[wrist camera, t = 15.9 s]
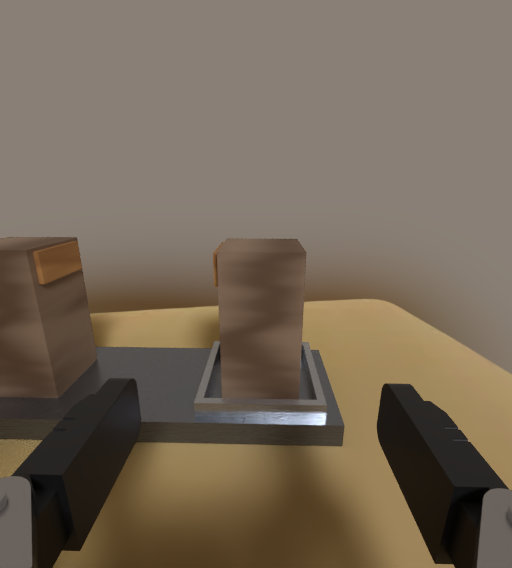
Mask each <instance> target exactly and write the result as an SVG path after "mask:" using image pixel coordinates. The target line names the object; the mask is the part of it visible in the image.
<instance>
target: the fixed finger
mask: <svg viewBox="0 0 512 568" xmlns="http://www.w3.org/2000/svg"><path fill="white" fill-rule="evenodd" d="M96 360H97V354H96V348H95V342H94V336H93V330H92V324H91V318H90V312H89V307H88V301H87V295H86V289H85V283H84V277H83V271H82V265H81V259H80V253H79V247H78V241H77V238H76V237H7V238H2V239H0V397H25V398H59V397H60V396H61V395H62V394H63V393H64V392H65V391H66V390H67V389H68V388H69V387H70V386H71V385H72V384H73V383H74V382H75V381H76V380H77V379H78V378H79V377H80V376H81V375H82V374H83V373H84V372H85V371H86V370H87V369H88V368H89V367H90V366H91V365H92V364H93V363H94V362H95V361H96Z"/></svg>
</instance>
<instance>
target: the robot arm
mask: <svg viewBox="0 0 512 568" xmlns="http://www.w3.org/2000/svg"><path fill="white" fill-rule="evenodd" d="M140 427H141V412H140V405H139V397H138V389H137V383H136V380H135V379H134V378H109V379H108V380H107V381H106V382H105V383H104V385H103V386H102V387H101V388H100V389H99V391H98V392H97V393H96V394H90V395H88V396H87V397H85V398H84V399H82V400H81V401H79V402H78V403H76V404H75V405H74V406H73V407H72V408H71V409H70V410H69V411H68V413H67V414H66V415H65V416H64V417H63V420H60V422H59V423H58V424H57V425H56V426H55V427H54V428H53V431H52V432H50V433H49V434H48V435H47V436H46V437H45V438H44V440H43V441H42V442H41V443H40V444H39V445H38V446H37V447H36V449H35V450H34V451H33V452H32V453H31V454H30V455H29V456H28V458H27V459H26V460H25V461H24V462H23V463H22V464H21V465H20V467H19V468H18V469H17V470H16V471H15V472H14V473H13V475H12V476H10V477H5V478H1V479H0V568H53V565H54V564H55V562H56V560H57V558H58V556H59V555H60V553H61V551H62V550H66V551H80V550H81V548H82V546H83V544H84V542H85V540H86V538H87V536H88V534H89V532H90V530H91V528H92V526H93V524H94V522H95V520H96V518H97V516H98V515H99V513H100V511H101V509H102V507H103V505H104V503H105V501H106V499H107V497H108V495H109V493H110V491H111V489H112V487H113V485H114V483H115V481H116V479H117V477H118V475H119V473H120V472H121V470H122V468H123V466H124V464H125V462H126V460H127V458H128V456H129V454H130V452H131V450H132V448H133V446H134V444H135V442H136V440H137V438H138V435H139V432H140ZM377 433H378V439H379V442H380V445H381V447H382V450H383V452H384V454H385V456H386V458H387V460H388V463H389V465H390V467H391V469H392V471H393V473H394V476H395V478H396V480H397V482H398V484H399V487H400V489H401V491H402V493H403V495H404V497H405V500H406V502H407V504H408V506H409V508H410V510H411V513H412V515H413V517H414V519H415V521H416V524H417V526H418V528H419V530H420V532H421V534H422V537H423V539H424V541H425V543H426V545H427V547H428V550H429V552H430V554H431V556H432V558H433V561H434V563H435V564H454V566H455V568H512V490H509V489H508V487H507V486H506V485H505V484H504V483H503V481H502V480H501V479H500V478H499V476H498V475H497V474H496V473H495V472H494V470H493V469H492V468H491V467H490V466H489V464H488V463H487V462H486V461H485V459H484V458H483V457H482V456H481V455H480V453H479V452H478V451H477V450H476V448H475V447H474V446H473V445H472V444H471V442H468V439H467V438H466V436H465V435H464V434H463V433H462V431H461V430H458V427H457V425H456V424H455V423H454V422H453V421H452V419H451V418H450V417H449V416H448V414H447V413H446V412H444V411H443V410H441V409H440V408H439V407H437V406H436V405H435V404H433V403H432V402H430V401H423V399H422V398H421V397H420V395H419V394H418V393H417V391H416V390H415V389H414V387H413V386H412V385H410V384H384V385H383V387H382V392H381V399H380V406H379V413H378V420H377Z"/></svg>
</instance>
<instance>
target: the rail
mask: <svg viewBox="0 0 512 568" xmlns="http://www.w3.org/2000/svg"><path fill="white" fill-rule="evenodd" d="M95 348H96V354H97V360H96V361H95V362H94V363H93V364H92V365H91V366H90V367H89V368H88V369H87V370H86V371H85V372H84V373H83V374H82V375H81V376H80V377H79V378H78V379H77V380H76V381H75V382H74V383H73V384H72V385H71V386H70V387H69V388H68V389H67V390H66V391H65V392H64V393H63V394H62V395H61V396H60V397H59V398H25V397H0V439H40V440H44V438H45V437H46V436H47V435H48V434H49V433H50V432H52V431H53V428H54V427H55V426H56V425H57V424H58V423H59V422H60V420H63V417H64V416H65V415H66V414H67V413H68V411H69V410H70V409H71V408H72V407H73V406H74V405H75V404H76V403H78V402H79V401H81V400H82V399H84V398H85V397H87V396H88V395H90V394H96V393H97V392H98V391H99V389H100V388H101V387H102V386H103V385H104V383H105V382H106V381H107V380H108V379H109V378H134V379H135V380H136V383H137V389H138V397H139V405H140V412H141V427H140V432H139V435H138V438H137V440H136V442H179V443H225V444H272V445H318V446H342V444H343V434H344V423H343V420H342V417H341V414H340V411H339V408H338V405H337V403H336V400H335V397H334V394H333V391H332V388H331V385H330V382H329V379H328V376H327V373H326V371H325V368H324V365H323V362H322V359H321V356H320V353H319V350H310V346H309V343H308V342H302V347H301V367H300V387H299V399H243V398H222V383H221V355H220V341H214V344H213V347H212V348H142V347H95Z"/></svg>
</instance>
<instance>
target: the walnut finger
mask: <svg viewBox="0 0 512 568" xmlns="http://www.w3.org/2000/svg"><path fill="white" fill-rule="evenodd" d="M213 264H214V286H215V287H217V286H218V296H219V297H218V299H219V327H220V355H221V383H222V398H243V399H299V387H300V367H301V347H302V327H303V308H304V287H305V267H306V251H305V250H304V248H303V247H302V246H301V244H300V243H299V241H298V240H297V239H226V241H225V242H223V243H221V245H220V246H219V247H218V248H217V249H216V251H215V252H214V253H213Z"/></svg>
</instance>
